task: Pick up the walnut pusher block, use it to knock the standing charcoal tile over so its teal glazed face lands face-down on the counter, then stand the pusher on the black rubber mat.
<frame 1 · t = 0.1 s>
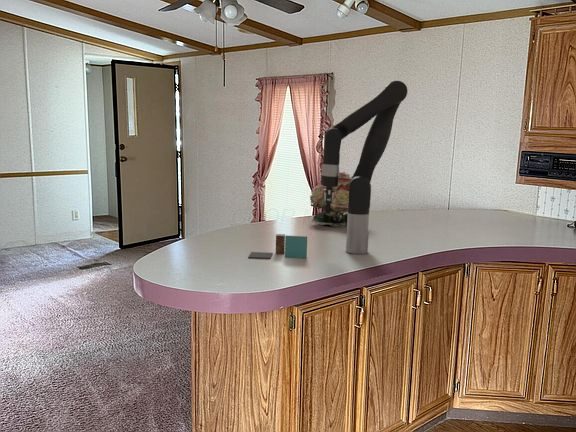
hand: (327, 212, 230), 17 cm above the table, tool pointing down, fingers open, 8 cm apart
pusher: (280, 253, 225), on the table
tile: (295, 257, 219), on the table
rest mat: (260, 256, 219), on the table
rose bouquet: (336, 224, 304), on the table
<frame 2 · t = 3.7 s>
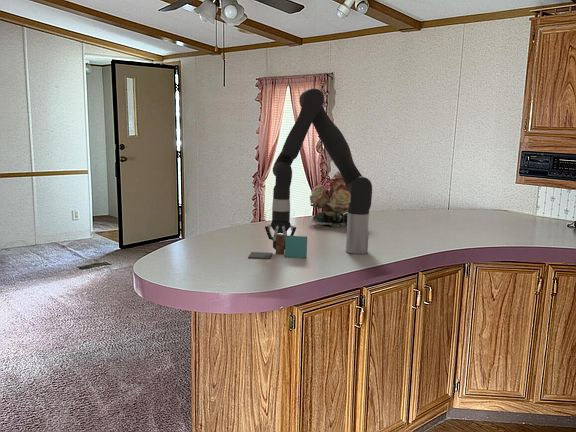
hand: (280, 249, 225), 2 cm above the table, tool pointing down, fingers closed on pusher, 3 cm apart
pusher: (280, 253, 225), on the table, touching gripper
everything else where it was.
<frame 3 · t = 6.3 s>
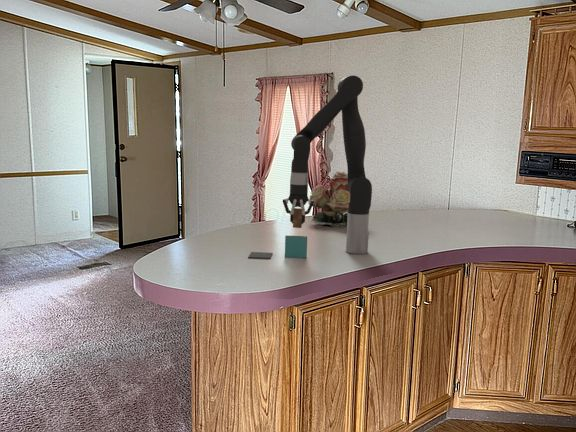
hand: (297, 223, 225), 13 cm above the table, tool pointing down, fingers closed on pusher, 3 cm apart
pusher: (297, 227, 226), point 11 cm above the table, touching gripper
everything else where it was.
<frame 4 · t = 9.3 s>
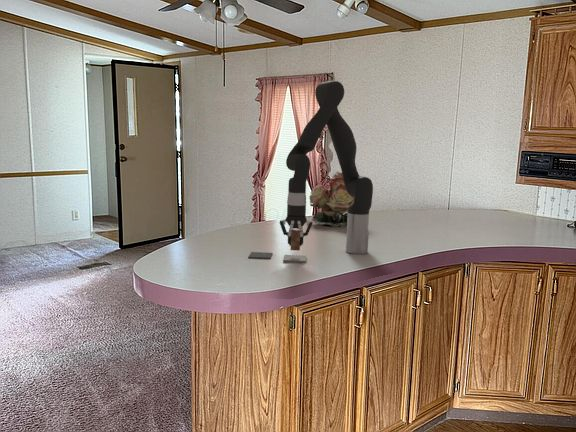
hand: (295, 245, 215), 6 cm above the table, tool pointing down, fingers closed on pusher, 3 cm apart
pusher: (295, 249, 215), point 4 cm above the table, touching gripper
tile: (295, 257, 218), on the table, tilted 90°
everything else where it was.
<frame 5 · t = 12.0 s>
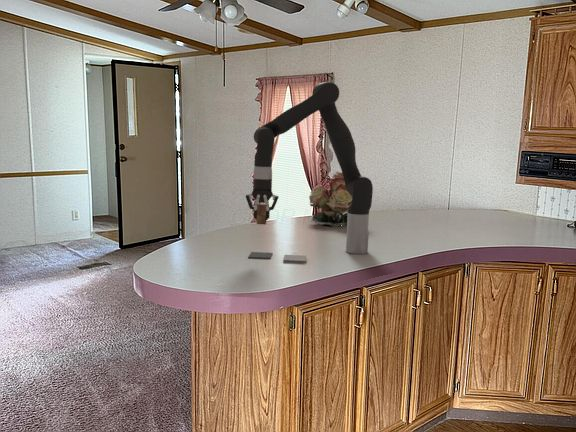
hand: (261, 219, 216), 15 cm above the table, tool pointing down, fingers closed on pusher, 3 cm apart
pusher: (261, 223, 216), point 14 cm above the table, touching gripper
everything else where it was.
when the fingers open (3 cm above the table, at t = 14.6 s): pusher drops 1 cm, resting on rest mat.
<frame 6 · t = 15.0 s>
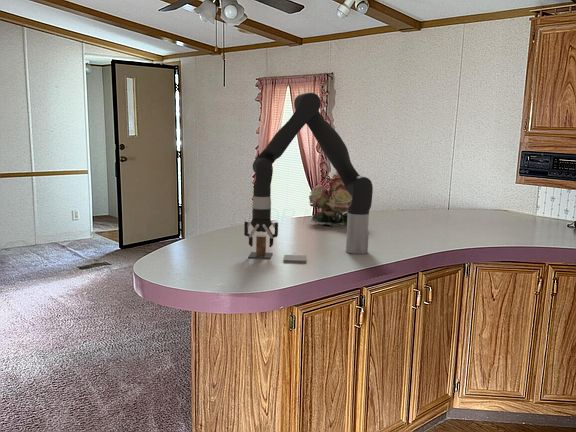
hand: (260, 246, 218), 4 cm above the table, tool pointing down, fingers open, 7 cm apart
pusher: (260, 254, 219), point 1 cm above the table, touching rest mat
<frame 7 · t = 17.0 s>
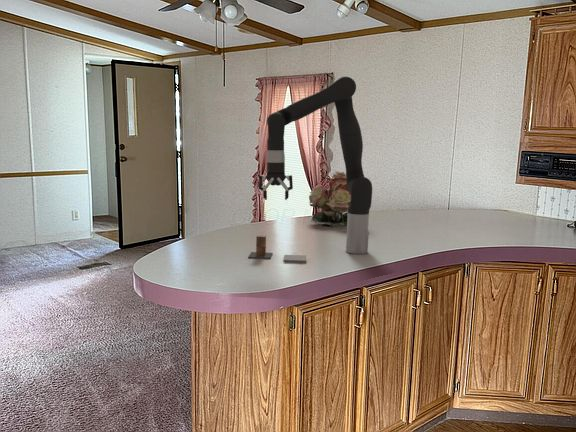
hand: (275, 199, 224), 23 cm above the table, tool pointing down, fingers open, 8 cm apart
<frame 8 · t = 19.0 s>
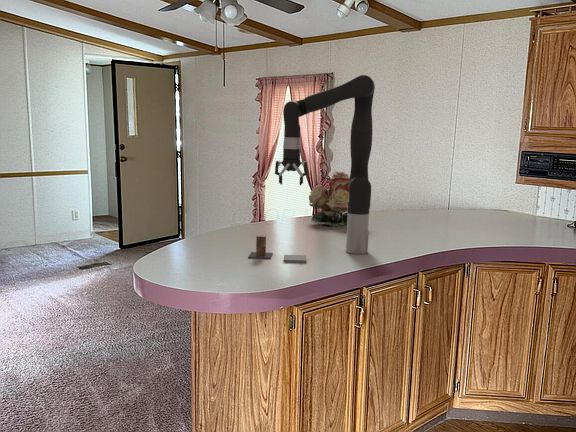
hand: (290, 184, 234), 28 cm above the table, tool pointing down, fingers open, 8 cm apart
at the end: tile tilted 90°; tile inside the target area (3.4 cm from its centre), on the table; pusher 0.1 cm off-centre on the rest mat, point 0.6 cm above the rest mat's base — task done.
